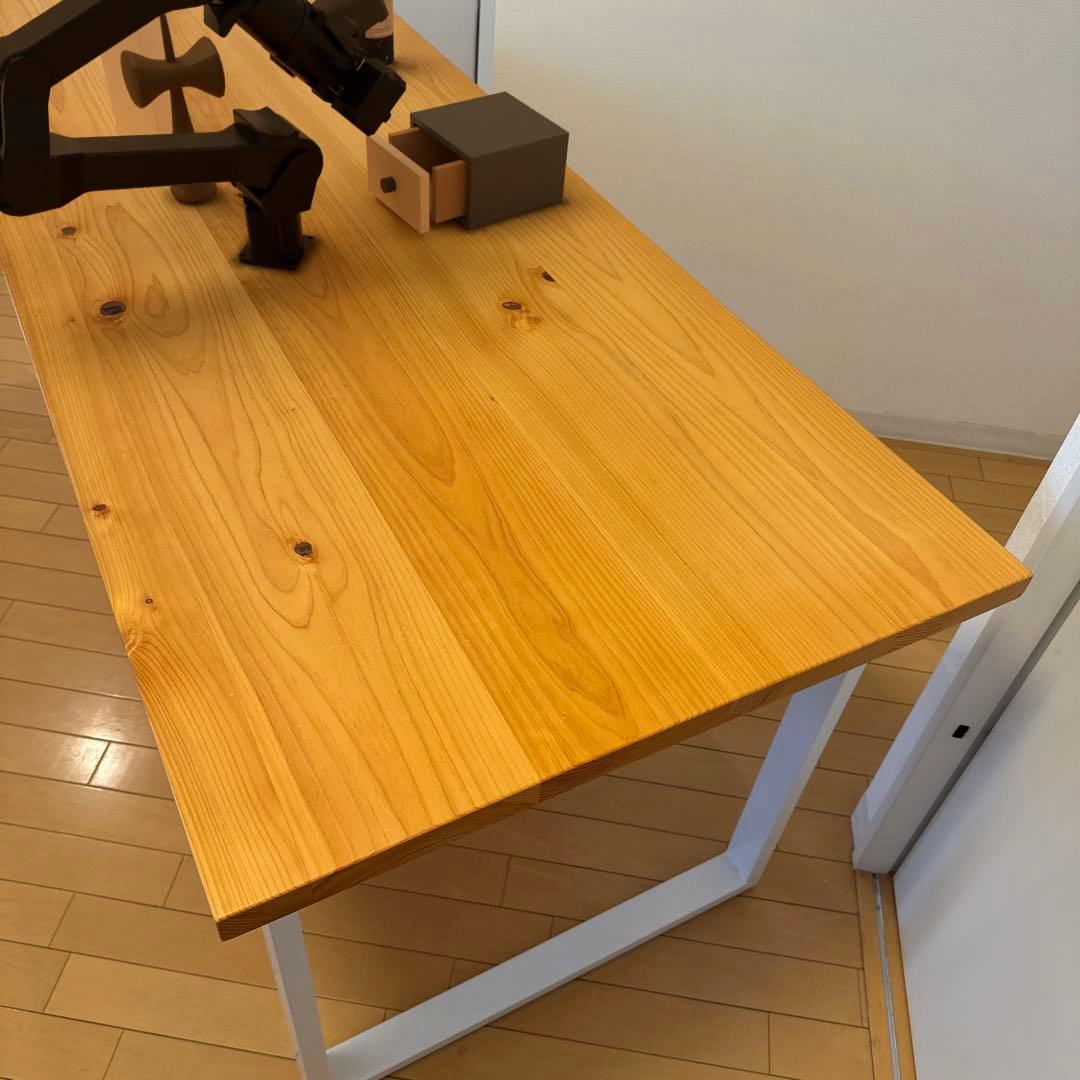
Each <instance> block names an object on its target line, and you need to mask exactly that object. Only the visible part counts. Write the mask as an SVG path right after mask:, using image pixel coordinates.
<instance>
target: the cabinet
mask: <svg viewBox="0 0 1080 1080" xmlns="http://www.w3.org/2000/svg"><path fill="white" fill-rule="evenodd" d="M418 126H419V127H421V128H422V129H423V130H425V131H426V132H428V133H429V134H430V135H432V136H433V137H434V138H436V139H437V140H438V141H440V142H441V143H442V144H444V145H445V146H447V147H448V148H449V149H451V150H452V151H453V152H455V153H456V154H457V155H459V156H460V157H462V158H463V159H464V160H466V161H467V162H468V164H467V198H466V215H463V216H459V217H456V218H454V219H455V220H456V221H458V223H460V224H461V225H462V226H464V227H465V228H466V229H468V230H470V231H471V230H474V229H477V228H481V227H484V226H487V225H490V224H494V223H498V222H501V221H503V220H507V219H511V218H515V217H517V216H521V215H524V214H528V213H531V212H534V211H537V210H541V209H543V208H544V209H545V208H548V207H550V206H554V205H557V204H561V203H563V198H564V190H565V179H566V169H567V159H568V150H569V140H570V132H569V131H567V130H566V129H565V128H563V127H562V126H560V125H559V124H557V123H556V122H554V121H553V120H551V119H549V118H548V117H546V116H545V115H543V114H541V113H540V112H538V111H536V110H535V109H534V108H532V107H530V106H529V105H528V104H527V103H524V102H523V101H522V100H520V99H518V98H517V97H515V96H513V95H512V94H511V93H509V92H508V91H501V92H496V93H492V94H488V95H483V96H479V97H474V98H470V99H466V100H460V101H456V102H451V103H448V104H444V105H439V106H434V107H430V108H426V109H422V110H417V111H412V112H410V113H409V129H410V128H414V127H418Z"/></svg>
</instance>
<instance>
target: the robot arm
mask: <svg viewBox="0 0 1080 1080" xmlns="http://www.w3.org/2000/svg"><path fill="white" fill-rule="evenodd" d="M202 6H203V13H202V14H203V15H202V16H203V24H204V25H205V26H206V27H207V28H209V30H211V32H214V33H215V34H216V35H217V36H218V37H220V38H223V39H225V38H227V37H228V35H229V34H230V32H231V31H232V29H233V27H235V25H237V26H238V27H239V28H240V29H241V30H243V31H244V32H245V33H247V35H249V36H250V37H251V38H252V39H253V40H254V41H256V42H257V43H258V44H259V45H260V46H261V47H262V49H264V50H265V51H266V52H267V53H268V54H269V60H270V61H272V62H273V63H274V64H275V65H276V66H277V67H278V68H280V69H281V71H283V72H285V73H286V74H287V75H289V76H290V77H291V78H292V79H295V78H297V79H298V80H300V81H301V82H303V83H304V84H305V85H306V86H307V87H309V89H310V90H311V93H312V94H313V95H314V96H316V97H318V98H319V99H320V100H321V101H323V102H324V103H327V104H330V108H331V109H333V110H334V111H335V112H337V113H338V114H339V115H340V116H342V117H343V118H344V119H345V120H346V121H348V122H349V124H351V125H352V126H354V127H355V128H356V129H357V130H359V131H360V132H361V133H362V134H363V135H365V137H366V136H368V137H369V136H371V135H374V134H375V133H377V132H378V130H379V129H380V127H381V126H382V125H383V123H384V124H386V123H388V121H390V119H391V118H392V111H393V109H394V107H395V106H396V105H397V103H399V101H400V99H401V98H402V97H403V96H404V94H405V92H406V91H407V82H406V81H405V80H404V79H403V78H402V77H401V76H400V75H399V74H398V73H397V72H396V71H395V70H393V68H391V67H390V66H389V67H388V66H386V65H385V64H383V63H382V62H381V61H379V60H378V59H369V58H368V57H366V56H365V57H364V59H363V58H362V57H360V56H359V52H358V49H359V48H360V45H359V44H358V43H357V42H356V41H355V40H354V39H353V38H357V37H359V36H361V35H362V34H364V33H365V32H366V31H368V30H369V29H370V28H372V27H373V26H374V25H376V24H377V23H378V22H383V21H384V20H385V19H386V18H387V17H388V15H389V12H388V10H387V7H386V5H385V3H384V0H314V1H312V2H310V1H309V0H59V1H58V2H57V3H55V4H53V5H52V6H51V7H49V8H48V9H45V10H44V11H43V12H42V13H40V14H38V15H37V16H35V17H34V18H32V19H30V20H29V21H28V22H26V23H24V24H23V25H21V26H20V27H18V28H17V29H15V30H14V31H12V32H10V33H9V34H6V35H3V36H0V212H1V213H2V214H3V215H5V216H9V217H15V218H16V217H17V218H23V217H30V216H32V215H38V214H41V213H45V212H49V211H54V210H59V209H61V208H63V207H65V206H66V205H68V204H70V203H71V202H73V201H75V200H76V199H78V198H79V197H81V196H83V195H85V194H88V193H93V192H105V191H121V190H134V189H135V190H136V189H149V188H161V187H164V188H165V187H171V186H178V185H193V184H207V183H216V184H218V183H219V184H221V183H230V184H231V186H232V187H233V188H234V189H236V190H238V191H239V192H240V193H241V194H242V195H243V196H242V203H243V211H244V217H245V225H246V226H245V227H246V233H247V238H248V241H247V242H246V244H245V245H244V247H243V248H242V249H241V250H240V252H239V254H238V255H237V259H238V261H239V262H243V263H248V264H254V265H261V266H266V267H273V268H280V269H285V270H291V271H296V270H298V269H299V267H300V266H301V264H302V263H303V261H304V260H305V258H306V256H307V255H308V253H309V252H310V250H311V249H312V247H313V245H314V244H315V242H316V238H315V236H313V235H308V234H304V233H303V231H304V230H303V223H302V222H303V221H302V213H305V212H308V211H310V210H311V209H312V204H313V201H314V196H315V193H316V188H317V184H318V180H319V179H320V177H321V175H322V172H323V169H324V155H323V152H322V149H321V147H320V146H319V144H317V142H316V141H315V140H313V138H311V137H310V136H309V135H307V134H306V133H305V132H303V131H302V130H301V129H300V128H299V127H297V126H296V125H295V124H293V122H292V121H290V120H288V118H287V117H285V116H283V115H282V114H279V113H276V112H275V111H274V110H273V109H272V108H271V107H269V106H268V105H267V106H264V107H262V108H259V109H254V110H253V109H252V110H251V109H243V108H233V109H232V116H233V123H232V124H230V125H228V126H227V127H225V128H223V129H222V130H219V131H208V132H207V131H206V132H195V133H177V134H152V135H126V136H118V135H105V136H104V135H102V136H82V137H81V136H77V137H72V136H65V135H63V134H59V133H57V132H52V131H50V113H49V105H50V97H51V89H52V88H53V87H55V86H56V85H58V84H59V83H60V82H62V81H64V80H65V79H67V78H68V77H70V76H71V75H73V74H74V73H76V72H77V71H79V70H80V69H82V68H83V67H85V66H87V65H88V64H89V63H91V62H93V61H94V60H95V59H97V58H98V57H100V55H101V54H103V53H104V52H106V51H107V50H109V49H110V48H112V47H113V46H115V45H117V44H118V43H120V42H121V41H123V40H124V39H126V38H127V37H129V36H130V35H132V34H133V33H135V32H136V31H138V30H139V29H141V28H142V27H144V26H145V25H147V24H148V23H150V22H151V21H153V20H154V19H156V18H157V17H159V16H161V15H164V14H166V13H169V14H170V12H174V11H182V10H187V9H195V8H199V7H202Z"/></svg>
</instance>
